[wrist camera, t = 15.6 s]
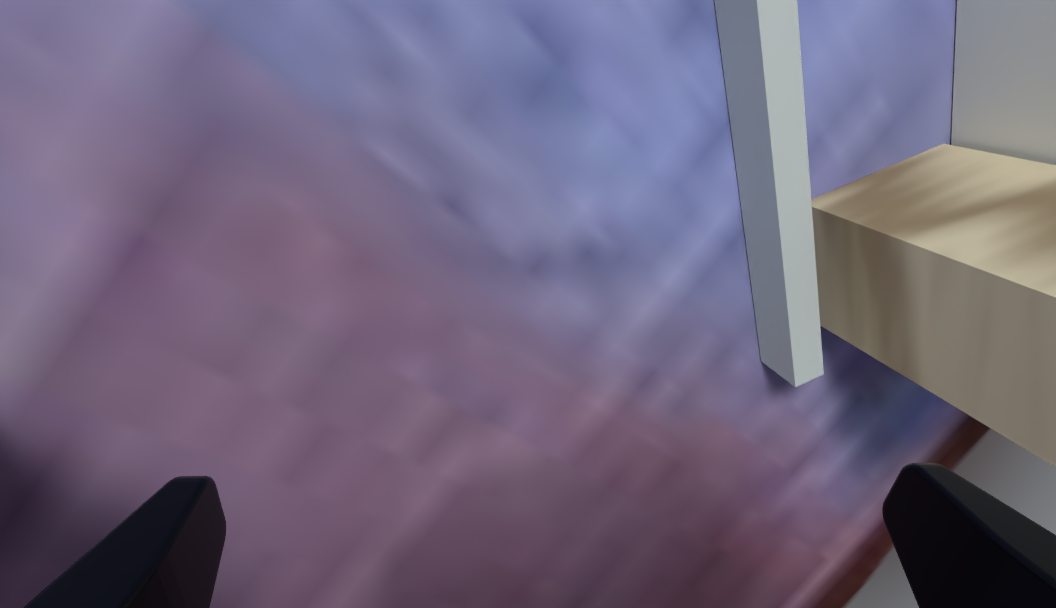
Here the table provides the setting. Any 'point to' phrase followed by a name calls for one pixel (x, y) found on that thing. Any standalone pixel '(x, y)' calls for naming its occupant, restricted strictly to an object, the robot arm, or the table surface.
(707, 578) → the table surface
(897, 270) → the beige upright block
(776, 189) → the board
